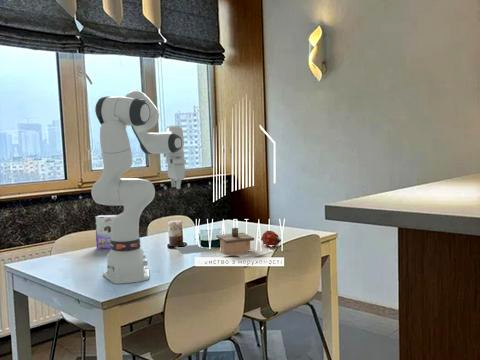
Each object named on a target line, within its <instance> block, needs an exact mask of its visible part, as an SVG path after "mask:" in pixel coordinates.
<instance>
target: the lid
mask: <svg viewBox="0 0 480 360" xmlns="http://www.w3.org/2000/svg"><path fill="white" fill-rule="evenodd" d="M216 239H218V240H219V241H220V240H222V241H223V242H225V243H235V242H244V241H250V242H252V241H255V237H253V236H252V235H249V234H247V233H245V232H239V228H238V227H231V233H224V234H216Z"/></svg>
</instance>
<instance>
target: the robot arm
mask: <svg viewBox="0 0 480 360" xmlns="http://www.w3.org/2000/svg"><path fill="white" fill-rule="evenodd" d="M94 111H95V116H96V117H97V119H98V122H99V124H100V127H99V142H100V143H99V145H100V150H101V156H102V163H103V167H102V168H103V170H102V173H101V175H100V177H99V178H98V179H97V180H96V181H95V182H94V184H93V185H92V187H91V192H90V193H91V197H92V200H93V201H94V202H95V203H96V204H99V205H103V206H122V207H123V212H121V213H119V214H116V215H117V216H115V217H114V218H113V219H112V221H111V240H110V248H111V249H110V251H109V252H108V253H107V254H106V271H103V272H102V276H103V277H105V278H106V279H108V281H110V282H111V283H112V284H117V285H118V284H131V283H140V282H144V281H148V280H150V267H149V266H148V259H146V257H147V256H146V254H144V250H143V249H142V248H141V247H142V246H141V239H140V233H139V227H140V217H141V215H142V213H143V211H144V210H145V208H146V207H147V206H148V205H149V204H150V203H151V202H153V200H154V198H155V196H156V195H155V193H156V189H155V186H154V184H153V183H152V181H151V180H148V179H144V178H123V177H122V174H124V173H126V172H127V171H129V170H130V169H131V168H132V166H133V157H132V149H131V143H130V140H129V135H128V131H127V126H128V127H129V126H131V130H132V132H133V134H134V135H135V137H136V139H137V141H138V143H139V148H140V149H141V151H142V152H143V153H144V154H146V155H155V154H158V155H159V154H160V155H161V154H165V163H166V164H167V177H168V178H169V179H170V183H171V188H176V190H181V184H182V181H183V180H184V179H185V176H186V174H185V173H186V172H185V171H186V164H187V160H186V158H185V151H184V146H185V140H184V139H185V138H184V137H185V136H184V132H183V128H182V127H181V126H178V125H168V126H166V128H165V132H148V131H149V130H152V129H153V128H155V126H156V125H157V124H158V122H159V118H160V117H159V116H160V113H159V110H158V108H157V106H156V105H155V104H154V102H153V101H152V100H151V98H149V97H148V96H147V94H145V93H144V92H142V91H140V90H137V89H135V90H131V91H128V93H127V94H126V95H125V96H108V95H107V96H103V97H100V98H99V99H98V100H97V101H96V104H95V110H94Z"/></svg>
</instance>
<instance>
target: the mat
mask: <svg viewBox="0 0 480 360" xmlns="http://www.w3.org/2000/svg"><path fill="white" fill-rule="evenodd" d="M184 246H185V247H178V246H174V248H175V249H176V250H177V251H178V252H180V253H181V254H182V255H187V254H195V253H206V252H215V249H213V248H212V249H207V248H201V247H199V246H198V244H191V245H190V244H189V245H184Z"/></svg>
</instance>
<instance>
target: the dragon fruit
mask: <svg viewBox="0 0 480 360" xmlns="http://www.w3.org/2000/svg"><path fill="white" fill-rule="evenodd" d="M260 240H261V241H262V244H263V245H264V244H266V245H265V246H268V245H275V246H278V245H279V244H280V243H281V242H282V239H281V238H280V237H279V235H278V234H277V233H276V232H274V230H273V231H272V230H266V231H265V232H263V234H262V236H261V238H260Z"/></svg>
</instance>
